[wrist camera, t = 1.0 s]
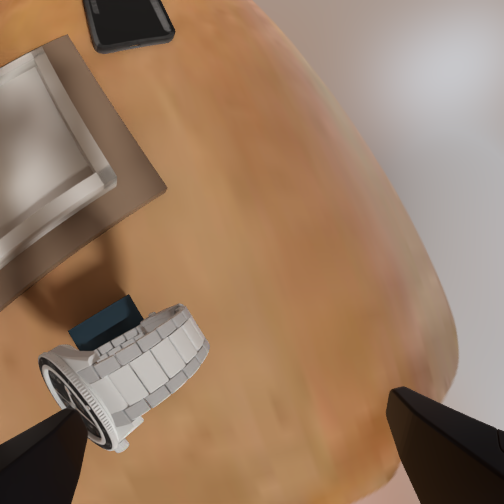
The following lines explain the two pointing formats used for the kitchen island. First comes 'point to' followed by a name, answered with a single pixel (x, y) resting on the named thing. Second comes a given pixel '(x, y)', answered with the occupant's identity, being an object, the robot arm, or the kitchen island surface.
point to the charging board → (61, 164)
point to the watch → (123, 367)
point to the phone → (127, 24)
